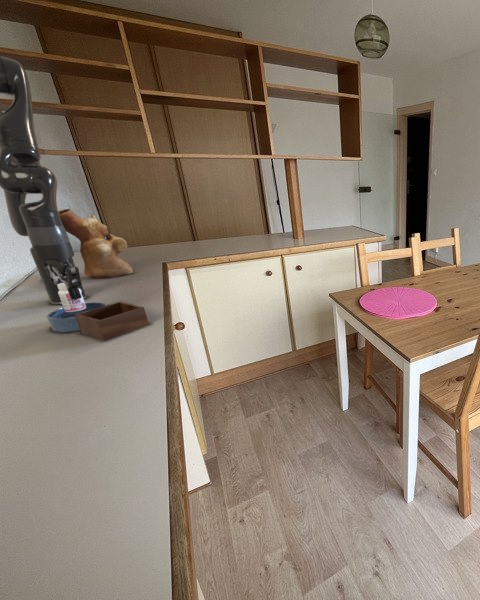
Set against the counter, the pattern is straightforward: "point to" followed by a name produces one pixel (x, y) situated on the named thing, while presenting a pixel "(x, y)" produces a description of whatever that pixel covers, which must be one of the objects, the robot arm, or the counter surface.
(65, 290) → the pill bottle
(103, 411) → the counter surface
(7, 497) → the counter surface
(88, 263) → the tan lumpy upright piece
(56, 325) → the bowl
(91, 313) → the box
